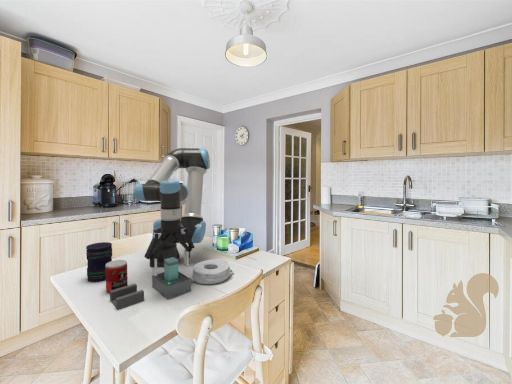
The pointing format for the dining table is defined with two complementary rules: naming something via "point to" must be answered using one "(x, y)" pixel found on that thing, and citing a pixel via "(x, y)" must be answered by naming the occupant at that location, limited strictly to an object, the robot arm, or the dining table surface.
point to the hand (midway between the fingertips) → (171, 270)
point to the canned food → (116, 275)
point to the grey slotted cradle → (126, 296)
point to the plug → (171, 268)
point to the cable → (211, 271)
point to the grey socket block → (171, 285)
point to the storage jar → (98, 260)
